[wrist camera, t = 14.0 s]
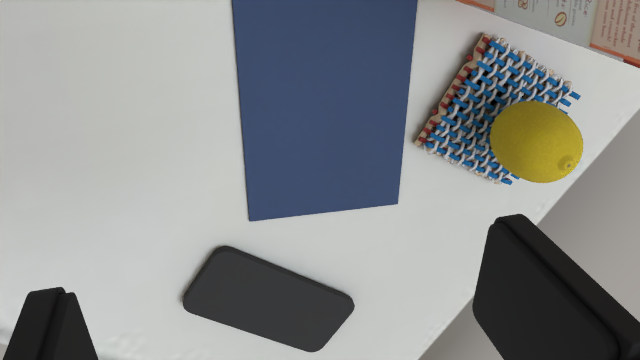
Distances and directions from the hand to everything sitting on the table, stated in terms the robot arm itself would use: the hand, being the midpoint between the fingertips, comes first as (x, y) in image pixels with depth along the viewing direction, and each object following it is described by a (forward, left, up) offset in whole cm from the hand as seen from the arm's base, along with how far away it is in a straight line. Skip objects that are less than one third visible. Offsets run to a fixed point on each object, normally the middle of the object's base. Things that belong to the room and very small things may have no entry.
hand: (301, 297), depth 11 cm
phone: (+24, +2, -26) cm, 35 cm away
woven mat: (+7, +21, -26) cm, 34 cm away
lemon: (+7, +21, -24) cm, 33 cm away
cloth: (+6, +7, -26) cm, 27 cm away
